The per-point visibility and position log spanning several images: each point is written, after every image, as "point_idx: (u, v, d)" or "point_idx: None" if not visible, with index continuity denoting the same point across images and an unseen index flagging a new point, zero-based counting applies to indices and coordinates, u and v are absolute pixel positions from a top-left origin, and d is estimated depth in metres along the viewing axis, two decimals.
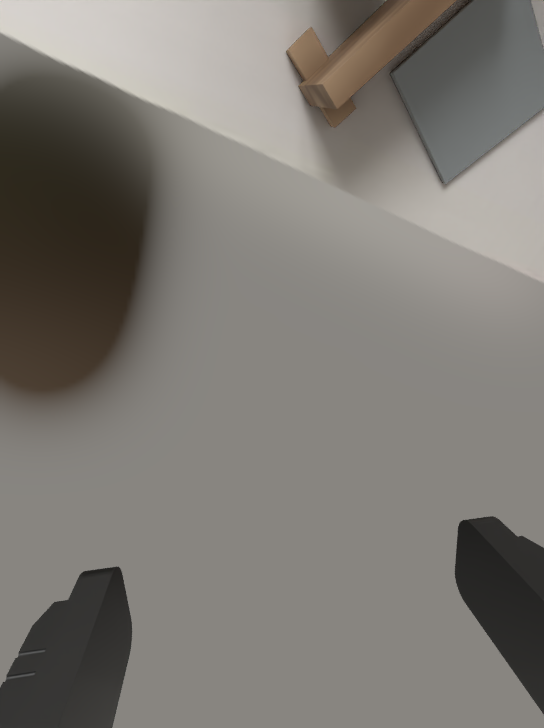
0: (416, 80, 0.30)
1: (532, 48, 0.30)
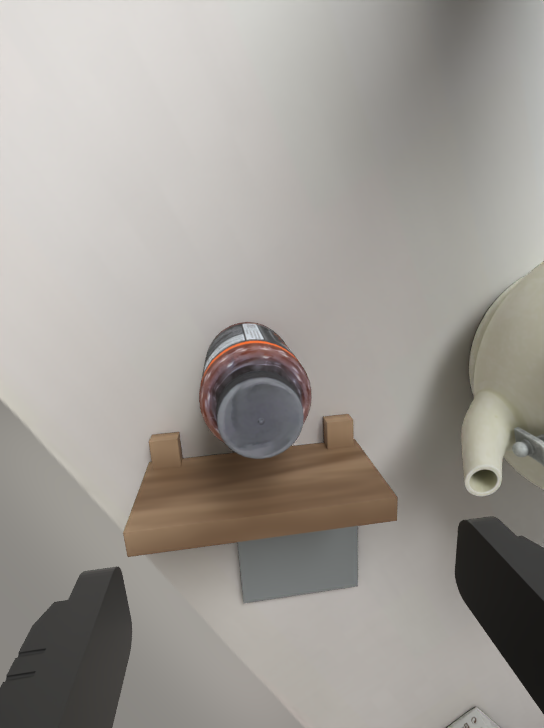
0: None
1: (349, 543, 0.33)
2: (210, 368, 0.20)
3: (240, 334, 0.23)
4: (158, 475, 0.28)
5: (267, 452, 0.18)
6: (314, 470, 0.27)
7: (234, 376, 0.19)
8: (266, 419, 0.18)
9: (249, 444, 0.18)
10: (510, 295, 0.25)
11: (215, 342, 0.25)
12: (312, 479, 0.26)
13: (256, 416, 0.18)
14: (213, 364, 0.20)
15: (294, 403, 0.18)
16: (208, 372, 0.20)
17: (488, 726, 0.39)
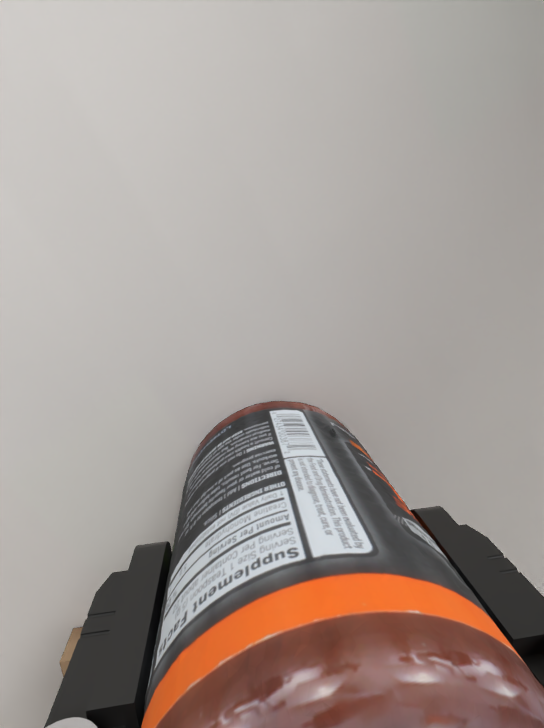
0: None
1: None
2: None
3: (277, 486, 0.07)
4: None
5: None
6: None
7: None
8: None
9: None
10: None
11: (204, 472, 0.10)
12: None
13: None
14: None
15: None
16: None
17: None
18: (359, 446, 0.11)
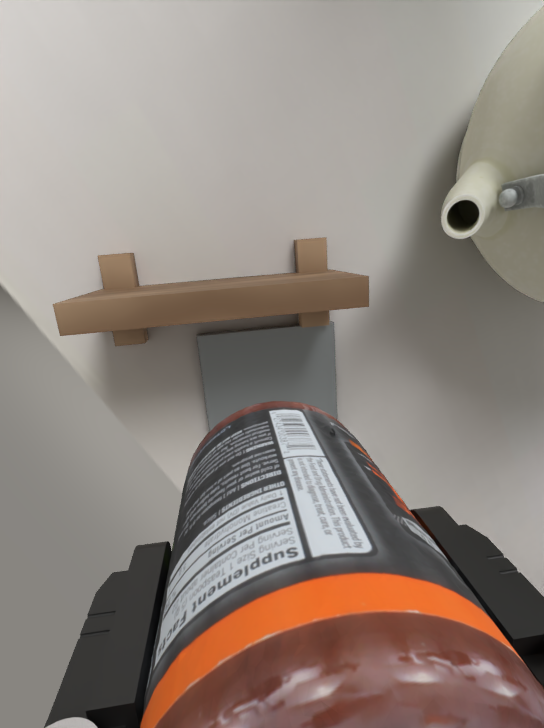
0: (217, 355, 0.28)
1: (327, 393, 0.30)
2: None
3: (276, 486, 0.07)
4: (108, 290, 0.25)
5: None
6: (280, 277, 0.24)
7: None
8: None
9: None
10: (499, 57, 0.22)
11: (203, 472, 0.10)
12: (276, 279, 0.23)
13: None
14: None
15: None
16: None
17: None
18: (359, 446, 0.11)
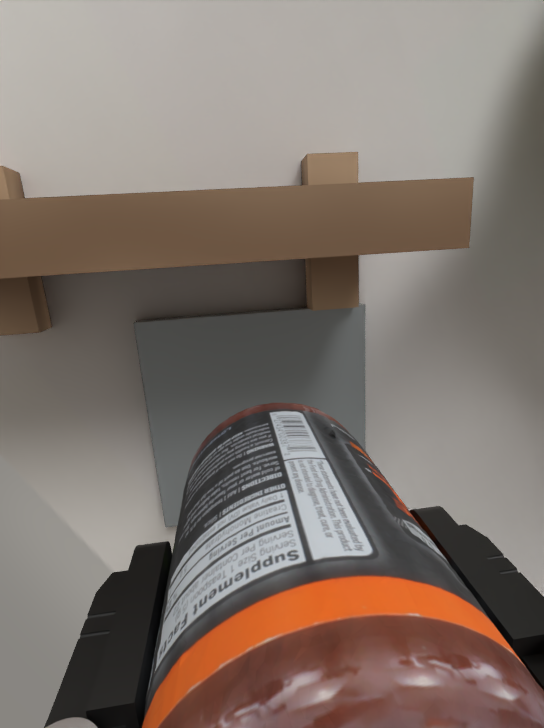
0: (169, 356, 0.17)
1: (351, 420, 0.19)
2: None
3: (277, 488, 0.07)
4: None
5: None
6: None
7: None
8: None
9: None
10: None
11: (204, 474, 0.10)
12: None
13: None
14: None
15: None
16: None
17: None
18: (359, 447, 0.11)
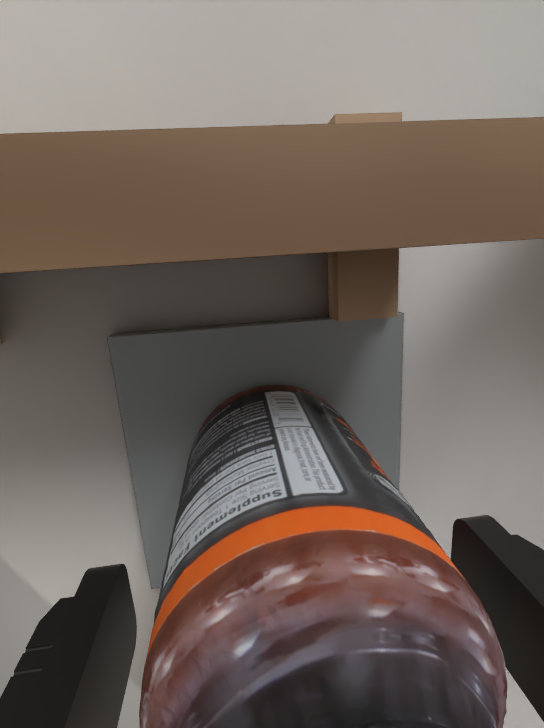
0: (154, 379, 0.13)
1: (382, 457, 0.15)
2: (174, 630, 0.06)
3: (267, 448, 0.09)
4: None
5: None
6: None
7: (261, 719, 0.05)
8: None
9: None
10: None
11: (205, 444, 0.11)
12: None
13: None
14: (184, 616, 0.06)
15: None
16: (166, 648, 0.06)
17: None
18: (345, 423, 0.12)
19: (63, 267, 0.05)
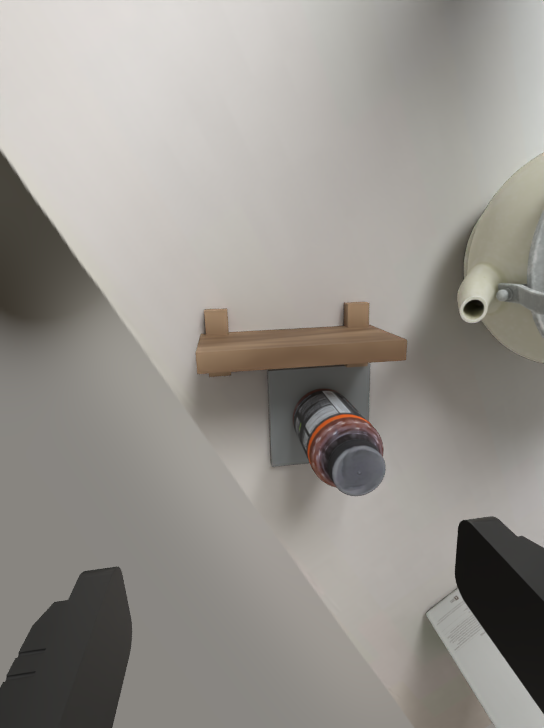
0: (282, 385, 0.38)
1: None
2: (319, 434, 0.30)
3: (330, 405, 0.33)
4: (211, 337, 0.34)
5: (361, 492, 0.28)
6: (339, 333, 0.34)
7: (338, 441, 0.29)
8: (363, 471, 0.28)
9: (351, 487, 0.28)
10: (497, 192, 0.32)
11: (306, 406, 0.35)
12: (338, 336, 0.33)
13: (356, 469, 0.28)
14: (321, 431, 0.30)
15: (380, 462, 0.28)
16: (318, 436, 0.30)
17: None
18: None
19: (302, 366, 0.30)
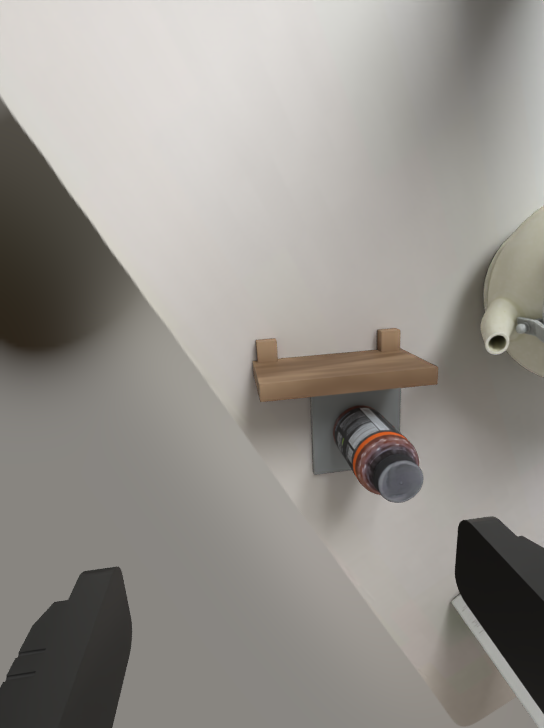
0: (323, 403, 0.42)
1: None
2: (364, 449, 0.35)
3: (370, 422, 0.38)
4: (264, 365, 0.39)
5: (403, 499, 0.33)
6: (376, 360, 0.38)
7: (382, 456, 0.34)
8: (404, 482, 0.33)
9: (394, 495, 0.33)
10: (514, 233, 0.37)
11: (347, 422, 0.40)
12: (376, 363, 0.37)
13: (399, 480, 0.33)
14: (366, 447, 0.35)
15: (419, 473, 0.33)
16: (363, 452, 0.35)
17: None
18: None
19: (349, 392, 0.34)
